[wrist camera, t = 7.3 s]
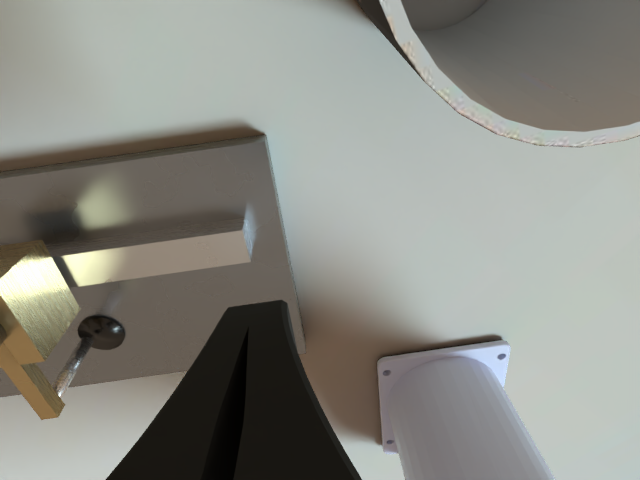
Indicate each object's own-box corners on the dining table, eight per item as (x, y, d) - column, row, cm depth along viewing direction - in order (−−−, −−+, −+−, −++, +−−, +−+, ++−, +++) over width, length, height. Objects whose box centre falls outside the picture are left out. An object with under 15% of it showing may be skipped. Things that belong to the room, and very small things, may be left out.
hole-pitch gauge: (305, 340, 23) (311, 437, 18) (-74, 394, 23) (-180, 508, 18) (265, 134, 17) (256, 190, 12) (-253, 207, 17) (-495, 297, 11)
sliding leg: (116, 344, 20) (71, 431, 16) (64, 351, 20) (7, 441, 16) (54, 227, 17) (-23, 300, 12) (-8, 236, 17) (-106, 312, 12)
